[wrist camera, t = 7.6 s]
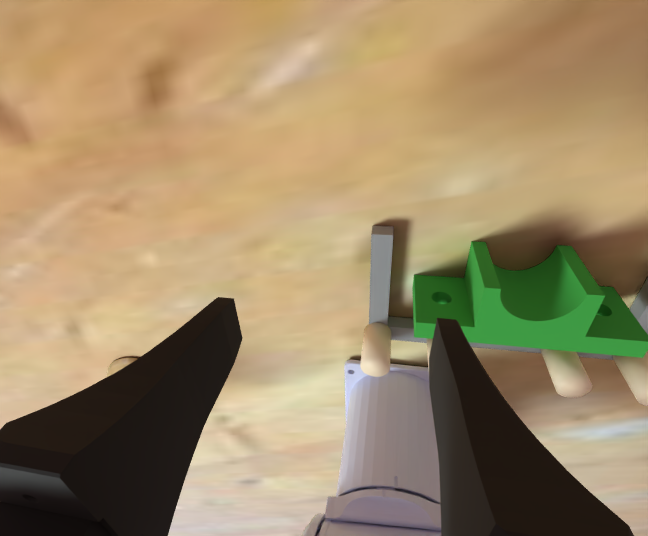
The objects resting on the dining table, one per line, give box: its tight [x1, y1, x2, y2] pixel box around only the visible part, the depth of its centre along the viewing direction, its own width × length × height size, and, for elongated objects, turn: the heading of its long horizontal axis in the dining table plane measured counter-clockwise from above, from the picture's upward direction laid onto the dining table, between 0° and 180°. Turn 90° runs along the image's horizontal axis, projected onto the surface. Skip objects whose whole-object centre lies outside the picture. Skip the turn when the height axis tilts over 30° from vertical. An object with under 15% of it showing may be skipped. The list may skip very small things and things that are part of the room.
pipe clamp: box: [413, 241, 648, 358], centre depth 20 cm, size 11×4×5 cm, turn 93°
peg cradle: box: [360, 226, 648, 406], centre depth 21 cm, size 8×17×4 cm, turn 93°
